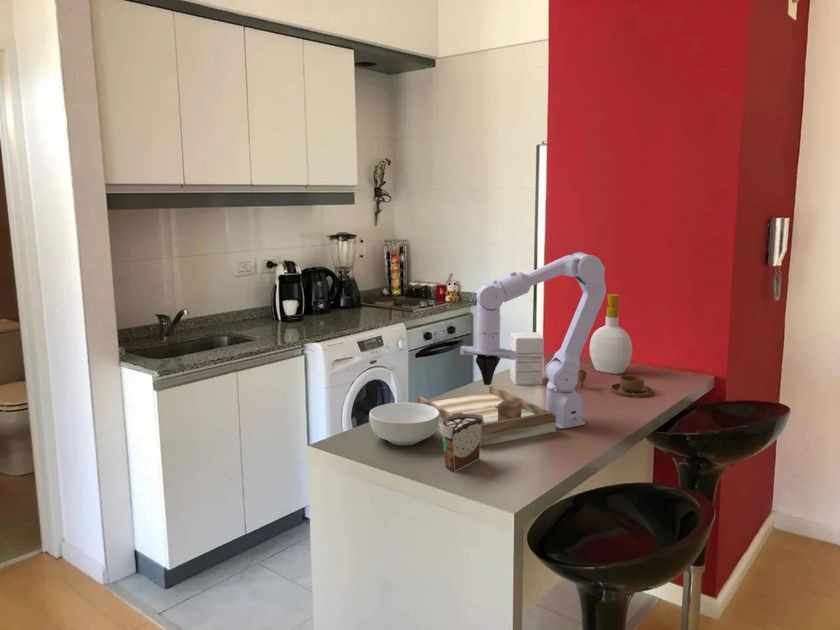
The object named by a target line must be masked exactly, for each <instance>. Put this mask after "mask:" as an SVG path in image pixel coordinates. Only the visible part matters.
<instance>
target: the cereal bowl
mask: <svg viewBox="0 0 840 630" xmlns="http://www.w3.org/2000/svg"><path fill="white" fill-rule="evenodd" d="M368 415H369V416H368V417H369V418H368V419H369V425H370V428H371V430H372V431H373V432H374V434H375V435H376V436H378V437H379V438H381V439H383V440H386V441H388V443H391V444H392V445H395V446H396V445H397V446H412V445H416V444H418V443H420V442H421V441H424V440H425V439H427V438H430V437H431V436H432V435H433V434H435V432H436V431H437V429H438V427H439V426H438V424H439V418H440V414H439V411H438V410H437V409H436V408H434V407H432V406H429V405H425V404H419V403H417V402H393V403H386V404H381V405H378V406H375V407H374V408H371V410H369V414H368Z"/></svg>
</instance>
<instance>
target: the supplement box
mask: <svg viewBox="0 0 840 630" xmlns="http://www.w3.org/2000/svg"><path fill="white" fill-rule="evenodd" d="M544 347H545V339H544V337H543V336H542V335H541V334H540V333H538V332H535V331H533V332H531V331H530V332H511V333H510V350H511V351H517V359H515V360H510V359H509V363H510V364H509V378H510V380H511V381H512V382H513V384H514V385H515V386H519V385H520V386H521V385H523V386H524V385H525V386H526V385H528V386H529V385H543V382H544V381H543V377H544V375H543V374H544V351H545V350H544V349H545V348H544Z"/></svg>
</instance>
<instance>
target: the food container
mask: <svg viewBox="0 0 840 630" xmlns="http://www.w3.org/2000/svg"><path fill="white" fill-rule="evenodd" d="M482 424H484V420H483V416H482V415H477V414H456V415H451V416H448V417H446V418H444V419H443V421H442V423H441V426H440V427H439V433H440V434H441V436H442V443H443V455H444V465H445V468H446V469H447V470H449V471H450V472H453V473H457V472H458V471H460V470H462V469H464V468H466V467H468V466H470V465H472V464H473V463H476V462H477V461H479V460H480V458H481V457H480V456H481V447H482V446H481V434H482Z"/></svg>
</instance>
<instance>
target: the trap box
mask: <svg viewBox="0 0 840 630" xmlns="http://www.w3.org/2000/svg"><path fill="white" fill-rule="evenodd" d="M488 386H489V387H488V392H485V393H479V394H478V393H477V394H472V395H466V396H458V397H454V398H447V399H446V398H445V399H441V400H440V399H438V400H433V401H430V400H428V399H427V398H425V397H423V396H421V395H419V396H417V398H416V401H417V402H416V403H419V404H425V405H429V406H432V407H434V408H436V409H437V410H438V411H439V414H440V418H439V424H438V427H439V426H441V423H442V421H443V419H444V418H446V417H448V416H451V415H456V414H477V415H482V416H483V420H484V424H482V434H481V446H480V447H483V446H487V445H492V444H493V445H494V444H498V443H503V442H508V441H513V440H519V439H523V438H529V437H530V438H531V437H535V436H540V434H541V435H545V434H549V433H550V432H551V433H555V432H556V427H555V426H556V414H554V413H552V412H549V411H547V410H546V408H543V407H541V406H538V405H537V404H534V403H531V402H529V401H528V400H525V399H523V398H520V397H518V396H517V395H514V394H512V393H509V392H507V391H505V390H503V389H501V388H498V387H496V386H494V385H488ZM504 400H509V401H516V402H521V417H518V418H513V419H507V420H501V421H498V404H500V403H501V402H502V401H504Z"/></svg>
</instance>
